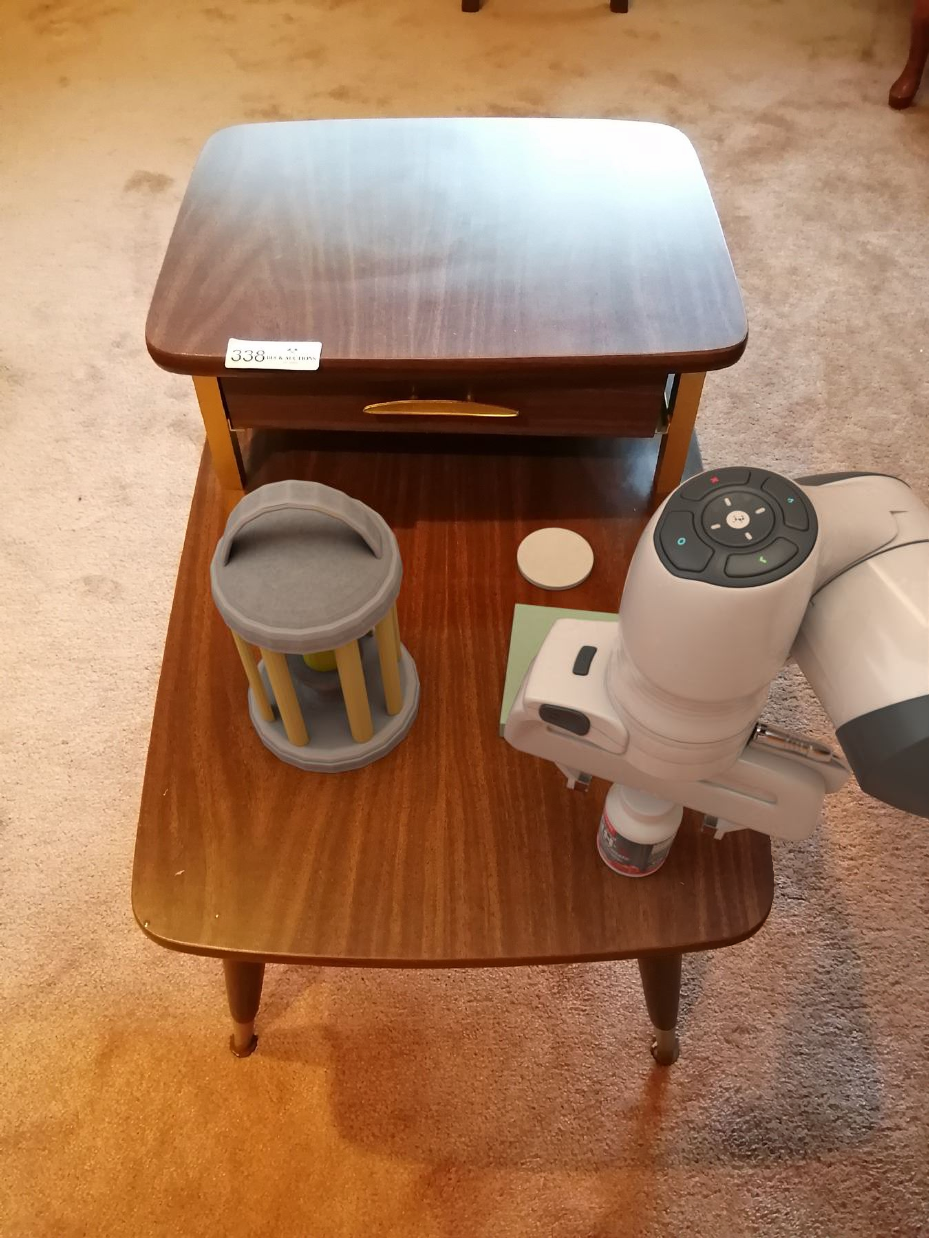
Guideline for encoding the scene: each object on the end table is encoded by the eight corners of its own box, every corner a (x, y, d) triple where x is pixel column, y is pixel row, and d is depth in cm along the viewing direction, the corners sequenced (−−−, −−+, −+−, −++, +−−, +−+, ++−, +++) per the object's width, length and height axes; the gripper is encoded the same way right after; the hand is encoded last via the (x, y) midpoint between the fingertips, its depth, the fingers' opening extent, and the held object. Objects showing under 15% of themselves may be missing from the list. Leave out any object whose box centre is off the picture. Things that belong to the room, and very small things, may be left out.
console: (674, 634, 86) (682, 607, 83) (673, 756, 79) (681, 731, 76) (514, 618, 87) (516, 590, 84) (499, 736, 80) (500, 711, 77)
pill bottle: (581, 845, 75) (593, 788, 67) (626, 798, 77) (643, 737, 69) (637, 894, 72) (657, 840, 64) (682, 844, 74) (706, 786, 67)
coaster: (595, 535, 93) (595, 531, 92) (590, 594, 89) (591, 590, 88) (520, 528, 93) (521, 524, 93) (513, 586, 89) (513, 582, 89)
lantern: (418, 623, 87) (399, 408, 66) (423, 768, 78) (403, 572, 58) (256, 632, 86) (188, 418, 66) (244, 778, 78) (161, 584, 58)
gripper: (869, 713, 57) (804, 815, 68) (532, 610, 61) (523, 721, 72) (853, 807, 53) (787, 898, 64) (497, 691, 58) (493, 795, 69)
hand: (645, 804), depth 68 cm, fingers open, 8 cm apart
